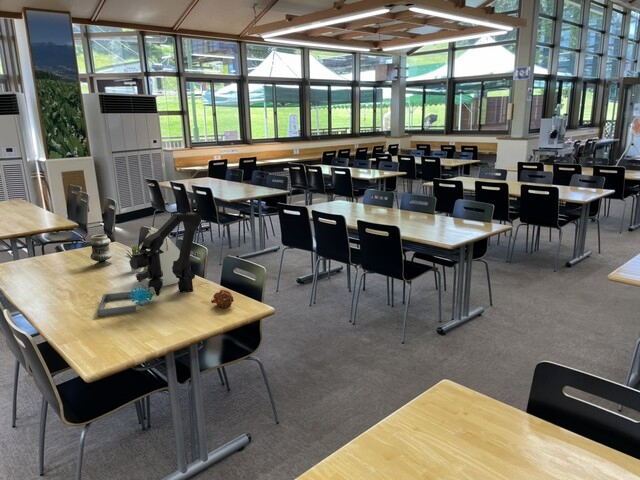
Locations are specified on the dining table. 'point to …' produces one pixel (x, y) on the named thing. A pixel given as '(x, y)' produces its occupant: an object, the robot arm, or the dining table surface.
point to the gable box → (166, 259)
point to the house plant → (134, 251)
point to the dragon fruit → (223, 298)
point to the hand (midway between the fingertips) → (157, 295)
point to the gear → (141, 295)
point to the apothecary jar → (100, 250)
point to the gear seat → (115, 310)
